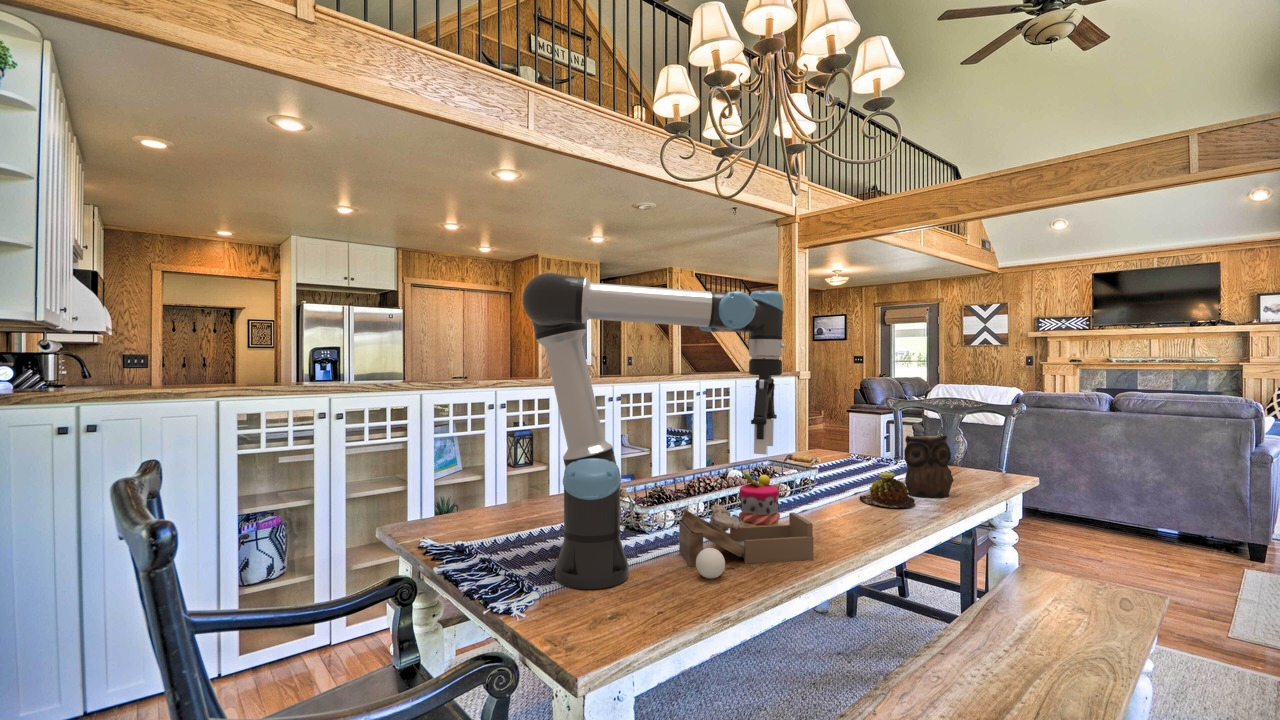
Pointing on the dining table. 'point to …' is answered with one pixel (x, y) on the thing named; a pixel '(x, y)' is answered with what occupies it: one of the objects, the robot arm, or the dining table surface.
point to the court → (776, 541)
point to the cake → (759, 502)
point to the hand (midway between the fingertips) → (763, 449)
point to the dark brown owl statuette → (928, 466)
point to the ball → (710, 563)
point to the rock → (723, 518)
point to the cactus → (888, 492)
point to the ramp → (693, 535)
